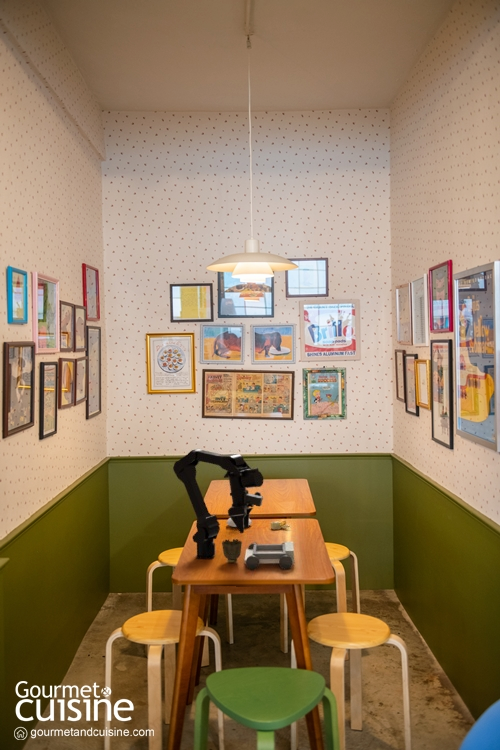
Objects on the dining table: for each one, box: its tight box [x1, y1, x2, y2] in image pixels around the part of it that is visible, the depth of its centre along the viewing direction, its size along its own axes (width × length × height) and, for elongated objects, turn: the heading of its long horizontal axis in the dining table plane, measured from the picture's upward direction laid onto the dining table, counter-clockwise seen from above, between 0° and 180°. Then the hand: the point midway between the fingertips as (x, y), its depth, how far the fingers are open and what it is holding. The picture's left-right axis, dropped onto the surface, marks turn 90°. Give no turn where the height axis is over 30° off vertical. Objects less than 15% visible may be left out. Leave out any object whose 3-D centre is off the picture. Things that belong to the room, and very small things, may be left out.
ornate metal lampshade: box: [221, 538, 243, 565], centre depth 248 cm, size 8×7×8 cm
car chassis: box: [244, 541, 295, 571], centre depth 248 cm, size 18×18×6 cm
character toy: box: [270, 520, 290, 530], centre depth 297 cm, size 8×3×8 cm
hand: (244, 530), depth 245 cm, fingers open, 9 cm apart
